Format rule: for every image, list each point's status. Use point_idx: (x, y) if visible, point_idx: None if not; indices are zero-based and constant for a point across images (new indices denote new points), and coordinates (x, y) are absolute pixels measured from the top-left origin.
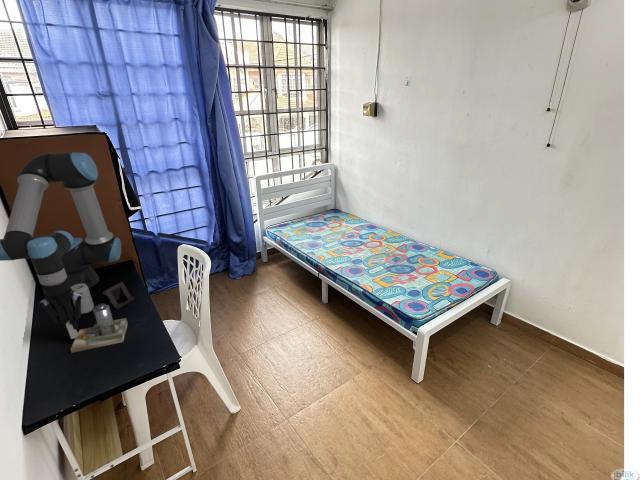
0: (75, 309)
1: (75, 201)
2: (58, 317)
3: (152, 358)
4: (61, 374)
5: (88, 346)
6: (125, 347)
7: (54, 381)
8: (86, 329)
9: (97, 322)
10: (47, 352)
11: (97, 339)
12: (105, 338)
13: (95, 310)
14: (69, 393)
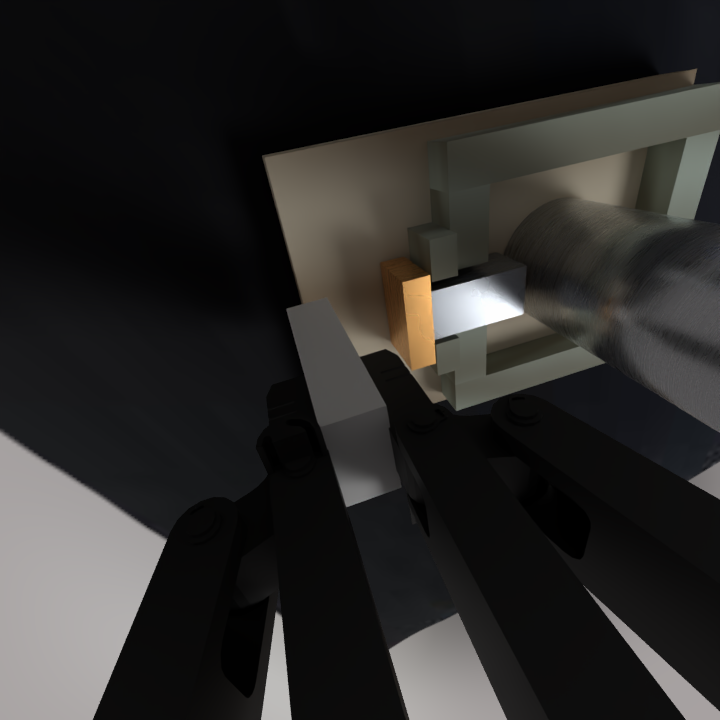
0: (712, 700)
1: None
2: (219, 587)
3: (692, 438)
4: (362, 536)
5: (440, 397)
6: (612, 375)
7: None
8: (425, 295)
9: (625, 372)
10: (133, 411)
11: (518, 390)
12: (560, 373)
13: None
14: (437, 587)
